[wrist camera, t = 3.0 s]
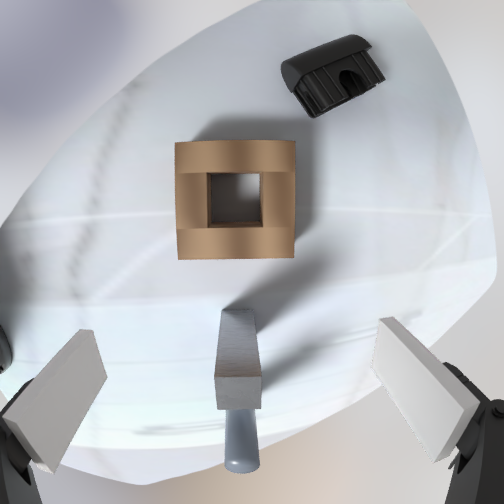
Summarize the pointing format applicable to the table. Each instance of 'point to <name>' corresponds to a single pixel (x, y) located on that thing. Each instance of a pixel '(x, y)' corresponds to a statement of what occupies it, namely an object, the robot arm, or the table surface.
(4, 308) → the table surface
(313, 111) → the end cap
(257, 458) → the round peg
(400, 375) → the robot arm
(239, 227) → the socket block
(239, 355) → the square peg
